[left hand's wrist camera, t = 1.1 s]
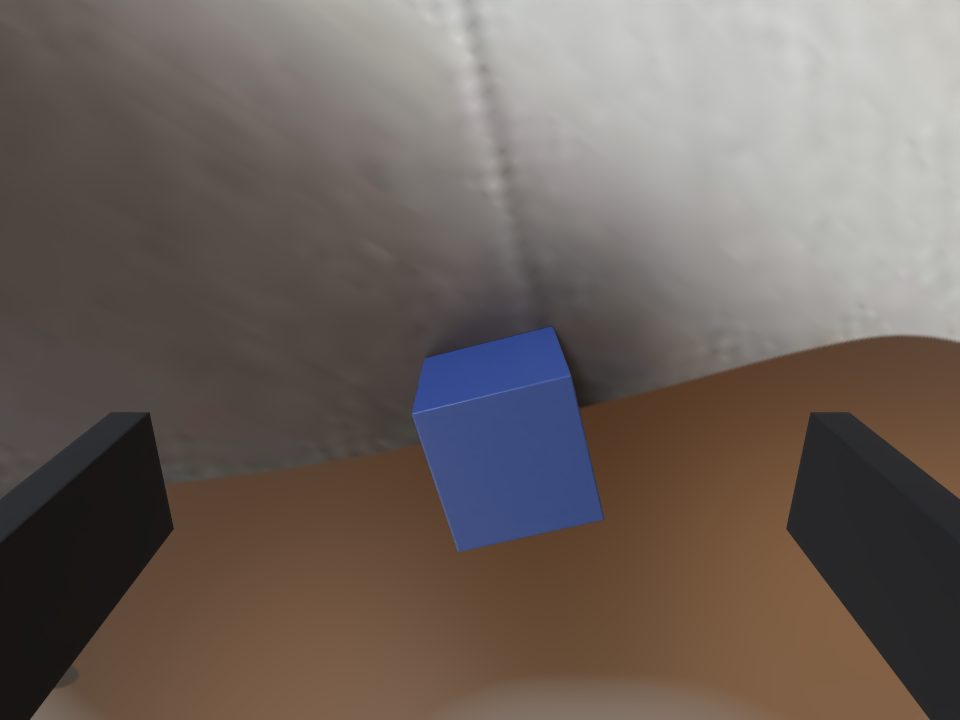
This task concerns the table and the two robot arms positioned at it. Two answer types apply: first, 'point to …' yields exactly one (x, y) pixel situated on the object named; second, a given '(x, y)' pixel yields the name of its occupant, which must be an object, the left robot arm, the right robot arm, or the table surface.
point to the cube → (506, 440)
